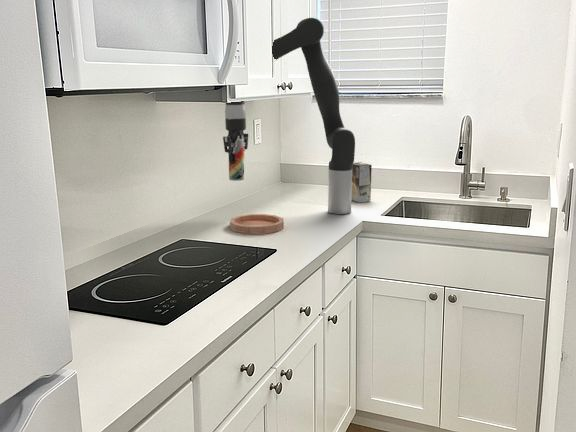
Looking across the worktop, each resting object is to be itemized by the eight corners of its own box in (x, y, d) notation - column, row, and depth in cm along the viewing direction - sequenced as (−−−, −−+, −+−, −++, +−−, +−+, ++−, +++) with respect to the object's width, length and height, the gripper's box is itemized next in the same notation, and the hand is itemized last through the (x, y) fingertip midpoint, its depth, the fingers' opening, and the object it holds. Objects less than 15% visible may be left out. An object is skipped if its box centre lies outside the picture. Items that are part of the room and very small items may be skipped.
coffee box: (371, 201, 249) (372, 164, 245) (358, 202, 246) (359, 165, 243) (360, 197, 257) (361, 161, 253) (347, 198, 254) (348, 162, 251)
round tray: (248, 218, 219) (248, 212, 218) (292, 224, 210) (292, 217, 210) (219, 230, 202) (219, 222, 202) (266, 236, 194) (266, 229, 193)
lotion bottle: (237, 181, 214) (235, 127, 209) (226, 179, 217) (224, 126, 213) (247, 179, 218) (246, 126, 214) (236, 178, 222) (234, 125, 217)
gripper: (237, 115, 220) (238, 159, 224) (215, 118, 208) (217, 164, 212) (254, 116, 217) (255, 160, 221) (233, 118, 204) (234, 165, 208)
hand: (236, 162), depth 216 cm, fingers closed on lotion bottle, 5 cm apart
